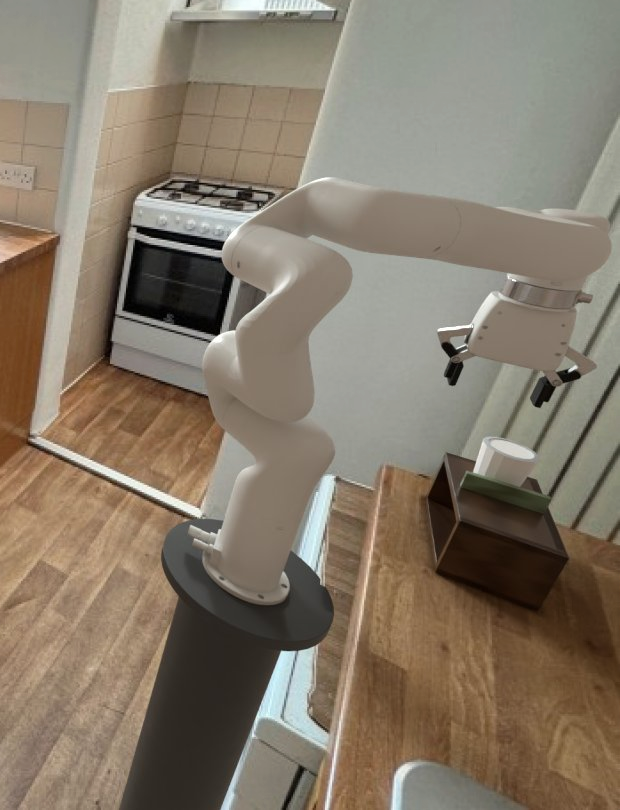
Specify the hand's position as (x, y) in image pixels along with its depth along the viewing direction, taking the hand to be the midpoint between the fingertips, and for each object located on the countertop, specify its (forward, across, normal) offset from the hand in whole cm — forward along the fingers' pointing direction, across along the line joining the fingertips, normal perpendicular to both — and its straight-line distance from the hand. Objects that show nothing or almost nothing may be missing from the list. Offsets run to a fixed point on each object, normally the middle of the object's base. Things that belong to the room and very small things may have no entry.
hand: (491, 392), depth 94 cm
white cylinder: (+20, -7, -8) cm, 22 cm away
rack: (+30, -7, -3) cm, 31 cm away
